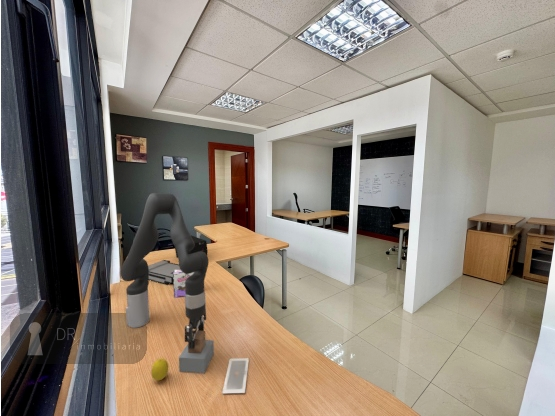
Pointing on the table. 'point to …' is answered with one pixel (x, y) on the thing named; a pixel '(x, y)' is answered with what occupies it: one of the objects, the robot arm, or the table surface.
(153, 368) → the lemon
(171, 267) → the game console
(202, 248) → the uninterruptible power supply
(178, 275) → the candy box
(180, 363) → the base block
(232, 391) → the touchpad
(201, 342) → the walnut block
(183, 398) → the table surface
